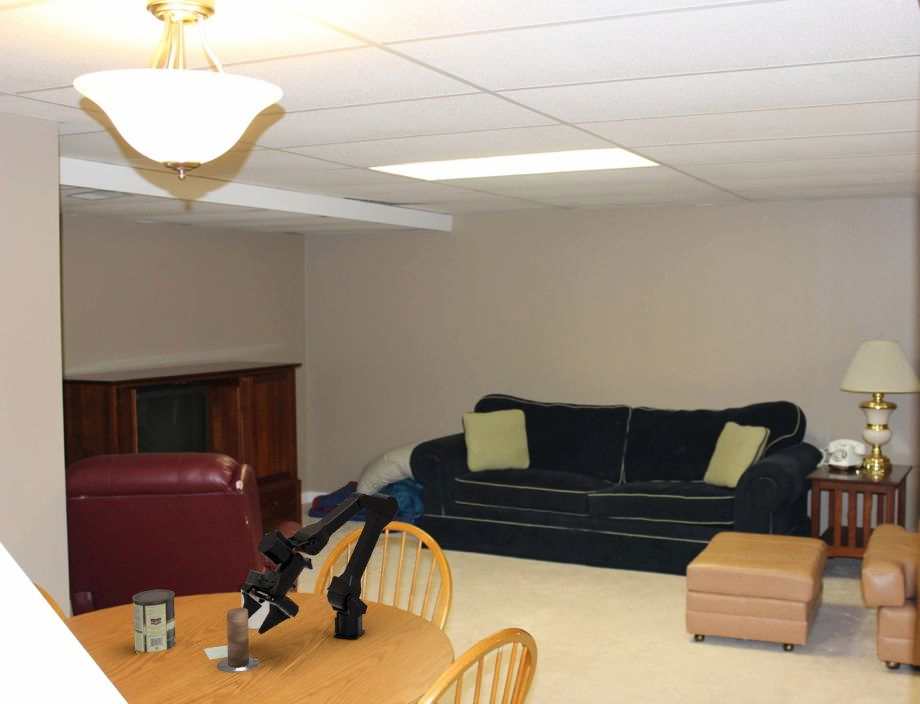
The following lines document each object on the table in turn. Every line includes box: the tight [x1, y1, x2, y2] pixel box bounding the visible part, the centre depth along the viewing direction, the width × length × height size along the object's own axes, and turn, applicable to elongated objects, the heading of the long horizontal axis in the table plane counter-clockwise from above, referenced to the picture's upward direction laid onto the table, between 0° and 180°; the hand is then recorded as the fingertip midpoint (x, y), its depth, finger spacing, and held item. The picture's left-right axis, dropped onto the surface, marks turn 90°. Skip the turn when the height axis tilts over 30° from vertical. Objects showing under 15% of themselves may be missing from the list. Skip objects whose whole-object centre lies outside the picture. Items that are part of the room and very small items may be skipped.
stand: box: [203, 644, 228, 661], centre depth 254 cm, size 8×8×1 cm
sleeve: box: [226, 607, 250, 667], centre depth 245 cm, size 5×5×13 cm
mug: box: [240, 589, 273, 630], centre depth 274 cm, size 9×12×11 cm
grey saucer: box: [216, 656, 260, 674], centre depth 245 cm, size 10×10×1 cm
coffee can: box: [132, 589, 177, 654], centre depth 258 cm, size 10×10×14 cm
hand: (249, 628), depth 247 cm, fingers open, 9 cm apart
